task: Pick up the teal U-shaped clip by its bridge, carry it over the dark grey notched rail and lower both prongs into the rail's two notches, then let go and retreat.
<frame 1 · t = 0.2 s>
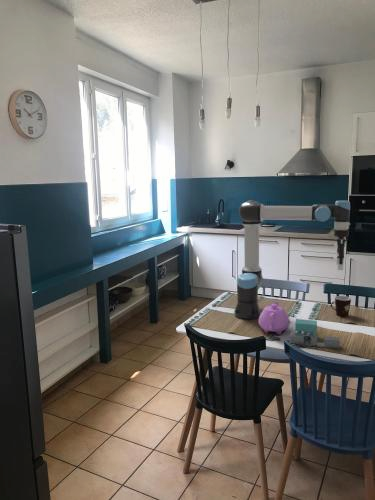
hand: (339, 267, 214), 28 cm above the table, fingers open, 13 cm apart
rail: (314, 344, 181), on the table
clip: (305, 336, 191), on the table
coffee mug: (339, 315, 219), on the table
teapot: (273, 329, 201), on the table
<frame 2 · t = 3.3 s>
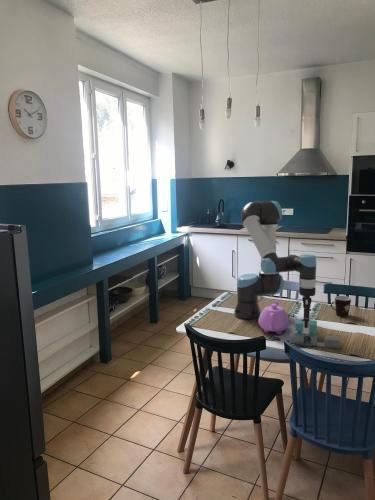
hand: (306, 328, 190), 4 cm above the table, fingers open, 13 cm apart
nothing on the table moved.
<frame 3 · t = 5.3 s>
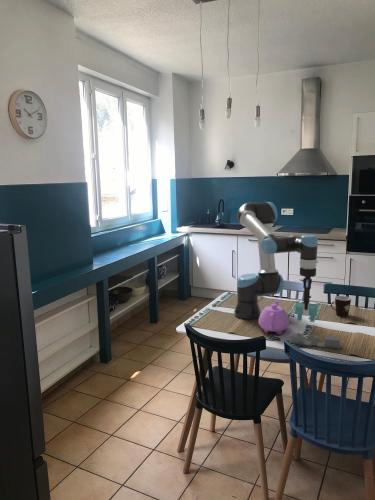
hand: (306, 313, 189), 12 cm above the table, fingers closed on clip, 6 cm apart
clip: (305, 319, 190), point 8 cm above the table, touching gripper
everything else where it was.
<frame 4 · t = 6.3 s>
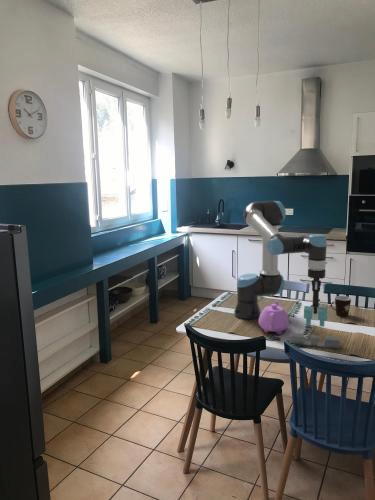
hand: (315, 317, 179), 13 cm above the table, fingers closed on clip, 6 cm apart
clip: (315, 324, 179), point 10 cm above the table, touching gripper
everything else where it was.
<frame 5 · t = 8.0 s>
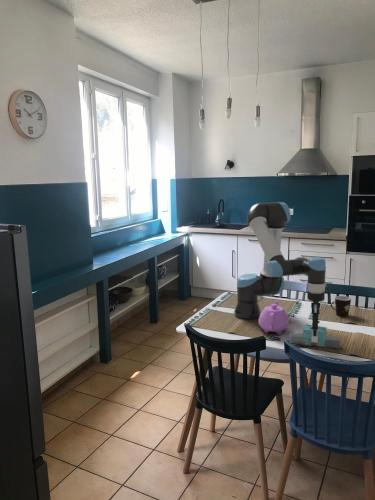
hand: (314, 339, 181), 3 cm above the table, fingers closed on clip, 6 cm apart
clip: (314, 343, 181), resting on rail, touching gripper
everything else where it was.
when the fingers open (3 cm above the table, at t = 8.2 s): clip stays where it is, resting on rail.
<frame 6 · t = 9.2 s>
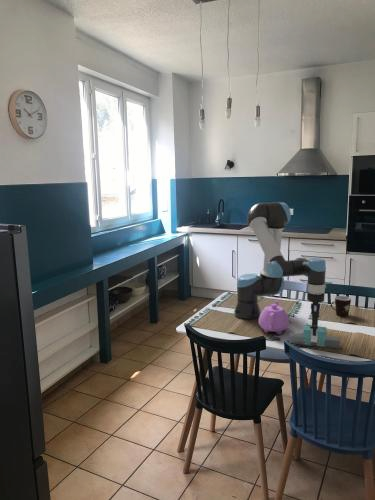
hand: (314, 336, 181), 4 cm above the table, fingers open, 13 cm apart
clip: (314, 343, 181), resting on rail
everything else where it was.
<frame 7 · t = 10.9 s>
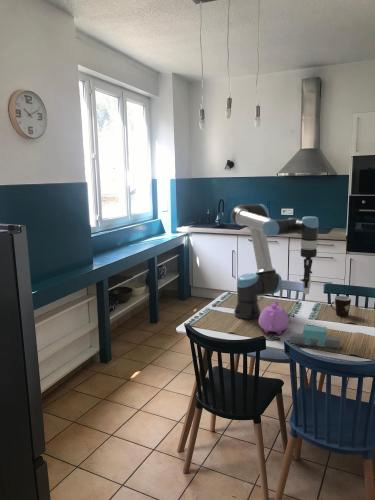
hand: (306, 289, 194), 22 cm above the table, fingers open, 13 cm apart
nothing on the table moved.
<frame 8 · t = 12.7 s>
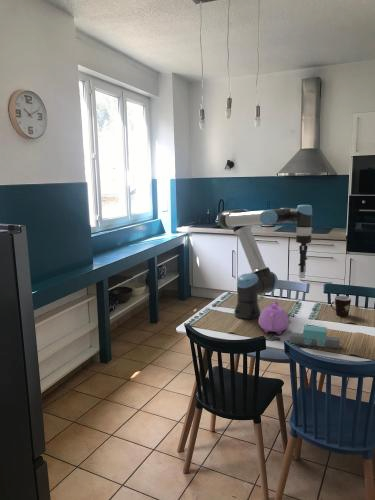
hand: (302, 274, 204), 27 cm above the table, fingers open, 13 cm apart
nothing on the table moved.
at the end: clip 0.2 cm off-centre on the rail, point 0.5 cm above the rail's base; clip tilted 0°; the gripper is holding nothing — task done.
